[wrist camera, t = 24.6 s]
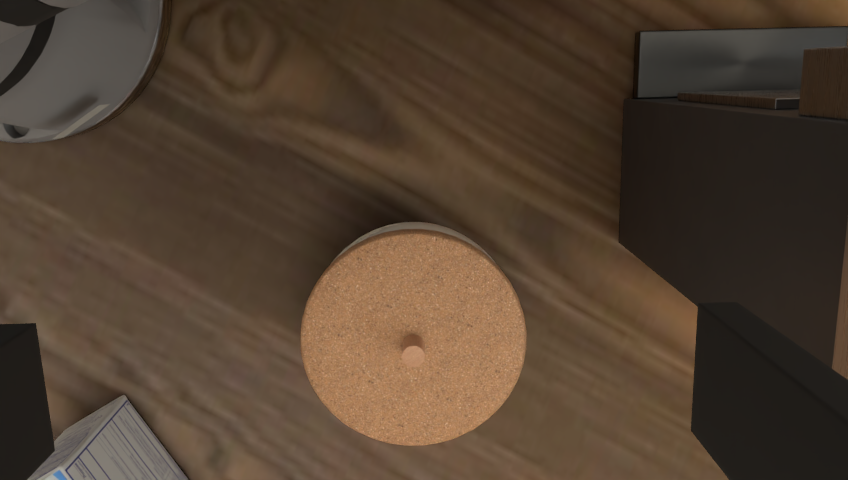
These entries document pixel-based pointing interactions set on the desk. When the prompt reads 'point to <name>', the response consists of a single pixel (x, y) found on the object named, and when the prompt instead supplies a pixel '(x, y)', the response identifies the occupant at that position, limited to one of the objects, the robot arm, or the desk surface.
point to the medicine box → (109, 449)
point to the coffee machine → (744, 174)
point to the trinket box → (413, 335)
